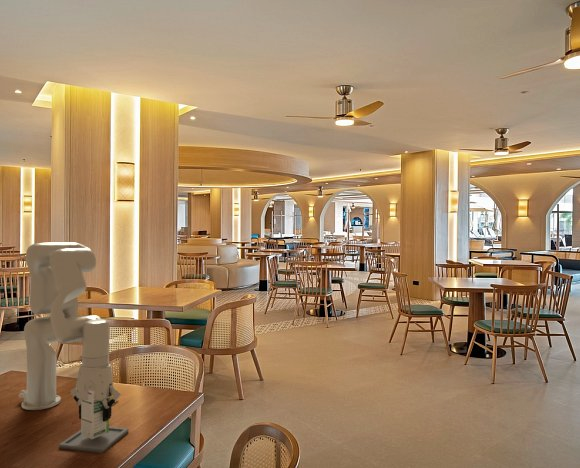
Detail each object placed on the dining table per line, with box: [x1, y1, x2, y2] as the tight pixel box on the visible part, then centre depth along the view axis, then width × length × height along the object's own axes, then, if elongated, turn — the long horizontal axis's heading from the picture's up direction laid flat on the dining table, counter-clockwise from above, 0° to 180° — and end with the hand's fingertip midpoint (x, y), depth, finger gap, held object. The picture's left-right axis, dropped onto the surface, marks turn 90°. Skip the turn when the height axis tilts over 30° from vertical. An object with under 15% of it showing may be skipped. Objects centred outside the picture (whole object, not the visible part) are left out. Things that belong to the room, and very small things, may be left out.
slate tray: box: [58, 425, 129, 454], centre depth 138 cm, size 14×14×1 cm
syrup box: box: [80, 390, 110, 439], centre depth 138 cm, size 6×6×14 cm
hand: (95, 418), depth 138 cm, fingers closed on syrup box, 7 cm apart
